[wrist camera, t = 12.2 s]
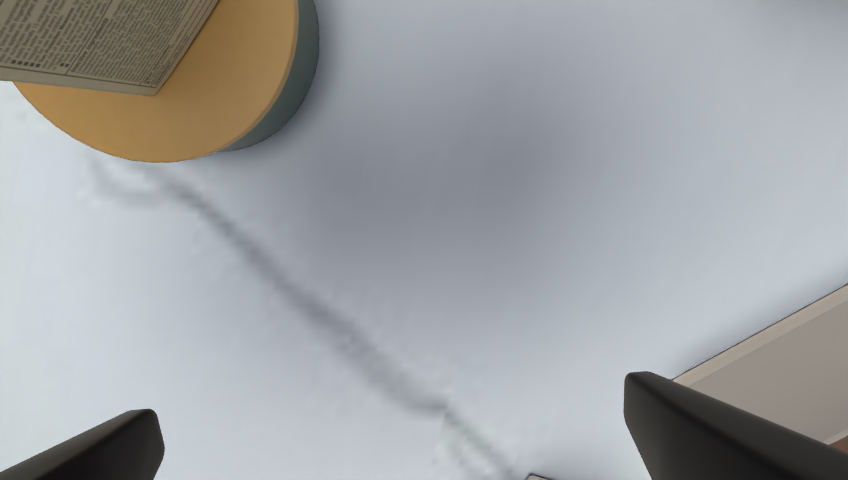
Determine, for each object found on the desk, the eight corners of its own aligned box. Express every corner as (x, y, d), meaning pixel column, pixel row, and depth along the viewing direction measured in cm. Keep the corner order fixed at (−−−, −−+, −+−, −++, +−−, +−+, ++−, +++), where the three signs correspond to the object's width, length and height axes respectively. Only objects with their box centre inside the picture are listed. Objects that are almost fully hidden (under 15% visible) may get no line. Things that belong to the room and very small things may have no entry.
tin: (306, -119, 18) (268, -204, 13) (337, 147, 20) (315, 151, 16) (47, -98, 18) (-76, -174, 13) (110, 165, 20) (23, 173, 16)
